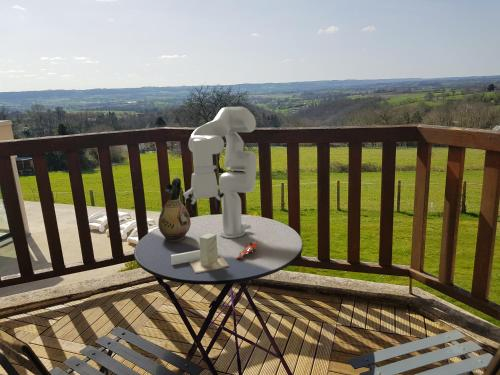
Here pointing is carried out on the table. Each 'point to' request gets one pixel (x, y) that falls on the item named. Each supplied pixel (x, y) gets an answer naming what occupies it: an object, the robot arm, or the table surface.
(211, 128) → the robot arm
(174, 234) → the ceramic jug
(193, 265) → the cork pad
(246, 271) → the table surface
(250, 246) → the fish
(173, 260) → the acrylic wall
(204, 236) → the skincare box
